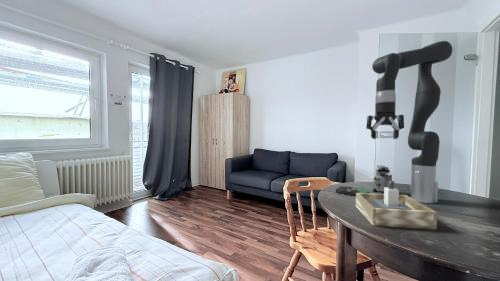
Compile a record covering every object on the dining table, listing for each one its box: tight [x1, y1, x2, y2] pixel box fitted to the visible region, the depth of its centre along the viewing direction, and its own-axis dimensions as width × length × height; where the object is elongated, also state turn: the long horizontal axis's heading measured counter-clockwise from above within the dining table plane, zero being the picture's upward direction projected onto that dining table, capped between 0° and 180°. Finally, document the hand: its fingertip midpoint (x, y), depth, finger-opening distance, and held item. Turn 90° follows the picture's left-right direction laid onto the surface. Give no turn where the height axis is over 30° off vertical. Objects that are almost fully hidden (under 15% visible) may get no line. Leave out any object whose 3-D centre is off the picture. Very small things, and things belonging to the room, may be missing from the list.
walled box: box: [355, 193, 438, 231], centre depth 85 cm, size 20×20×6 cm
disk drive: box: [335, 185, 370, 198], centre depth 116 cm, size 10×3×15 cm
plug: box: [383, 180, 400, 206], centre depth 85 cm, size 4×4×13 cm
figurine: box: [372, 164, 393, 192], centre depth 116 cm, size 9×12×15 cm
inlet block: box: [372, 199, 412, 210], centre depth 85 cm, size 10×10×4 cm
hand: (384, 138), depth 95 cm, fingers open, 8 cm apart
